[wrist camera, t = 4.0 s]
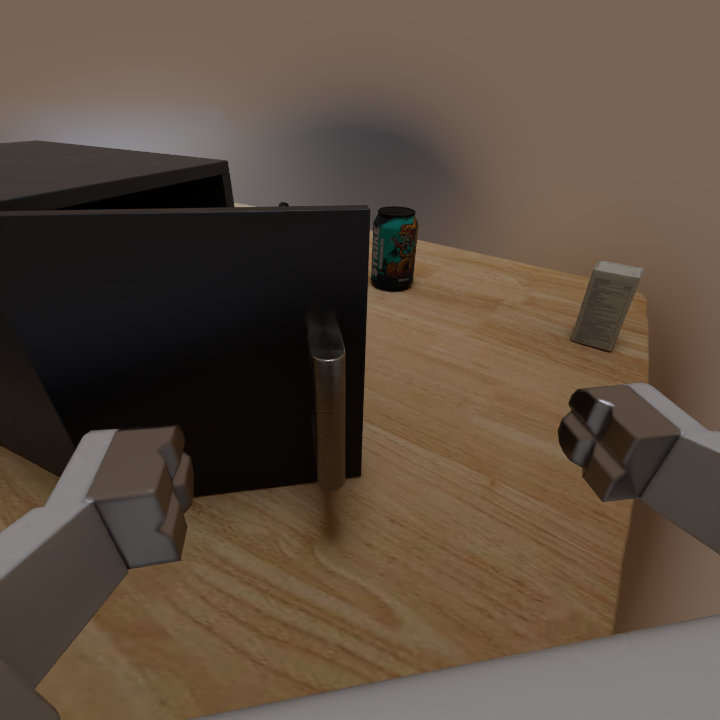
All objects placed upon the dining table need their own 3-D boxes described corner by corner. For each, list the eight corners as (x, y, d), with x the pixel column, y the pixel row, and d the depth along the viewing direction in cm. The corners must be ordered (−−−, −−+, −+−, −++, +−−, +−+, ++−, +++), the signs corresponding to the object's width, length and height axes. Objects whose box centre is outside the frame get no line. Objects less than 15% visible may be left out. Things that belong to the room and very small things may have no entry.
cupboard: (257, 369, 47) (228, 160, 35) (101, 499, 32) (-48, 209, 20) (103, 320, 56) (37, 140, 44) (-77, 403, 41) (-254, 163, 29)
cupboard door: (375, 539, 29) (396, 242, 18) (73, 583, 26) (-151, 259, 14) (359, 466, 35) (367, 204, 23) (109, 496, 32) (-31, 211, 20)
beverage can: (413, 292, 66) (421, 217, 60) (371, 291, 66) (374, 215, 60) (410, 276, 72) (417, 206, 66) (371, 275, 72) (373, 204, 66)
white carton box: (616, 339, 55) (647, 268, 49) (610, 353, 52) (642, 278, 46) (575, 327, 58) (600, 258, 52) (568, 340, 55) (593, 268, 49)
